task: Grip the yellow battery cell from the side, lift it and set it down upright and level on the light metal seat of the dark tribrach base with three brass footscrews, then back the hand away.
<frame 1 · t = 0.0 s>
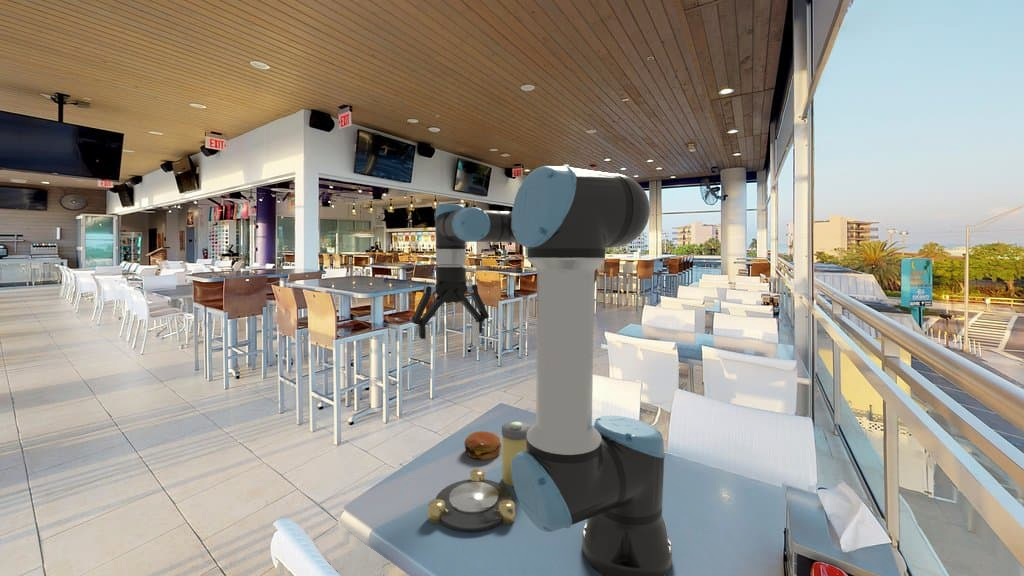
hand: (451, 348, 107), 28 cm above the table, tool pointing down, fingers open, 13 cm apart
burger: (483, 453, 110), on the table
yellow battery cell: (516, 479, 97), on the table
tribrach: (473, 506, 86), on the table
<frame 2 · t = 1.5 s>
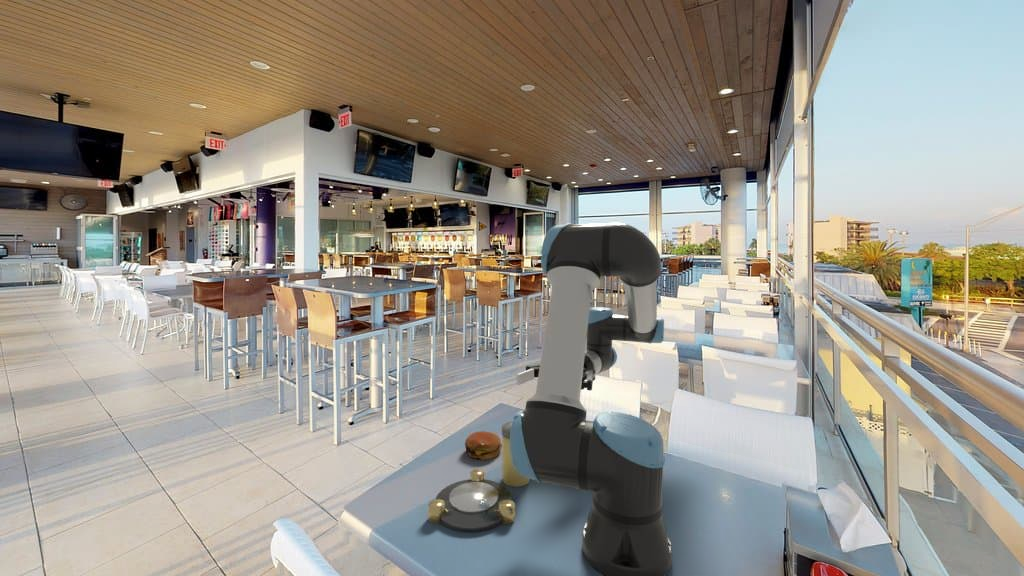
hand: (539, 385, 102), 20 cm above the table, tool horizontal, fingers open, 13 cm apart
nothing on the table moved.
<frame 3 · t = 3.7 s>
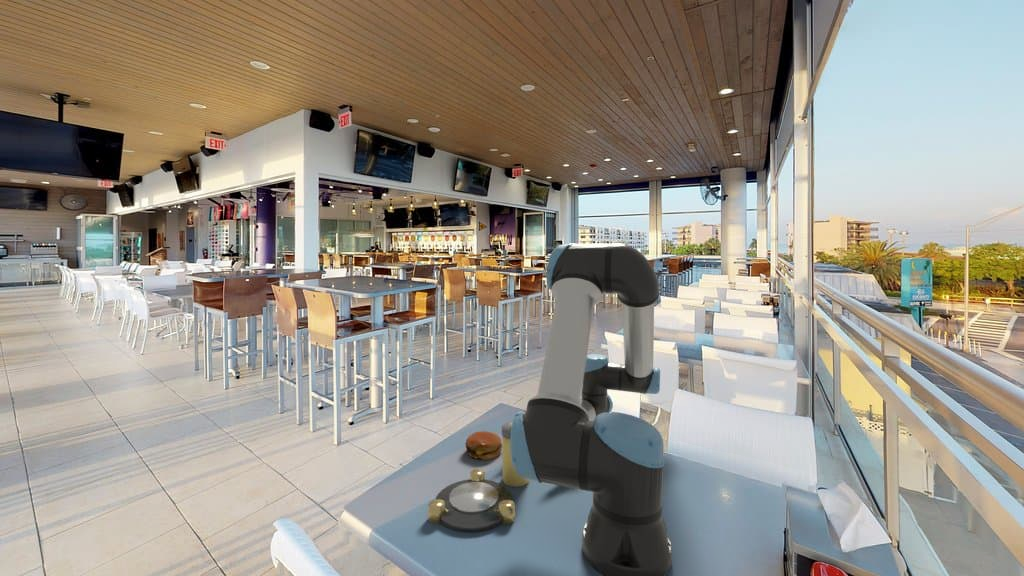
hand: (529, 442, 100), 7 cm above the table, tool horizontal, fingers open, 13 cm apart
nothing on the table moved.
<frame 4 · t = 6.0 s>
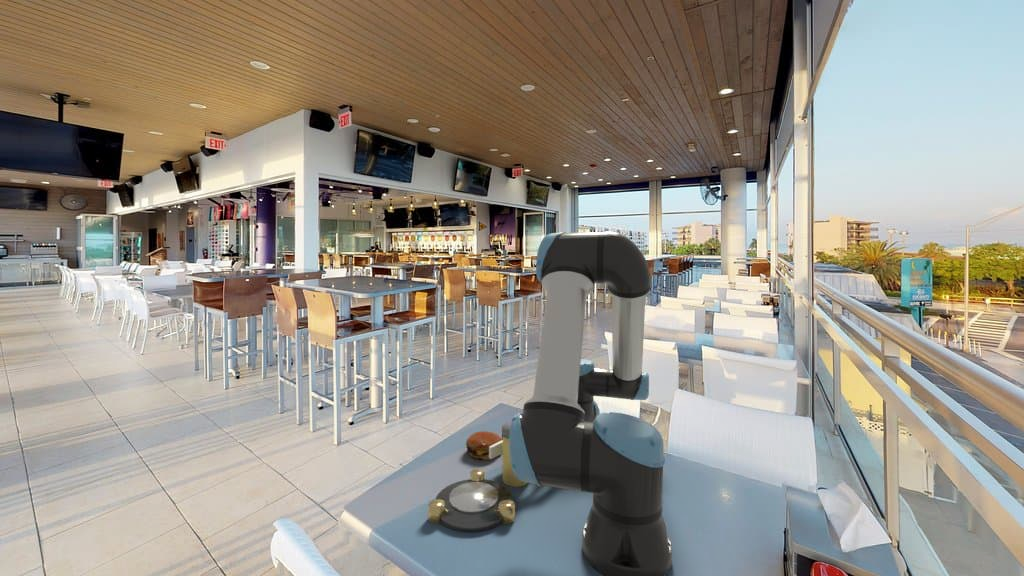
hand: (501, 457, 92), 7 cm above the table, tool horizontal, fingers closed on yellow battery cell, 6 cm apart
yellow battery cell: (516, 479, 97), on the table, touching gripper
everything else where it was.
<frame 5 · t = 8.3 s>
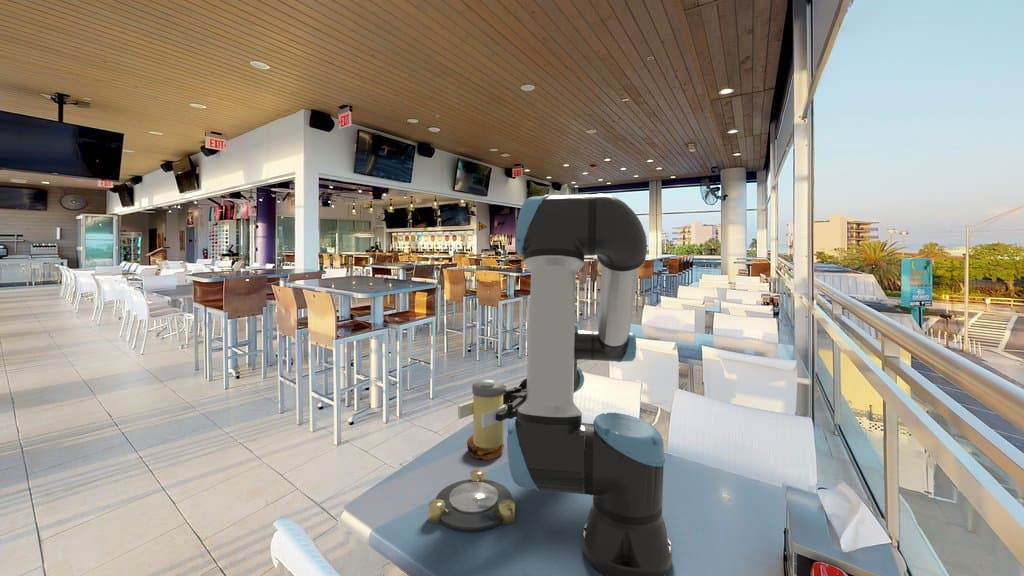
hand: (470, 416, 85), 19 cm above the table, tool horizontal, fingers closed on yellow battery cell, 6 cm apart
yellow battery cell: (488, 441, 89), point 12 cm above the table, touching gripper
everything else where it was.
when the fingers open (11 cm above the table, at t = 10.5 s): yellow battery cell drops 1 cm, resting on tribrach.
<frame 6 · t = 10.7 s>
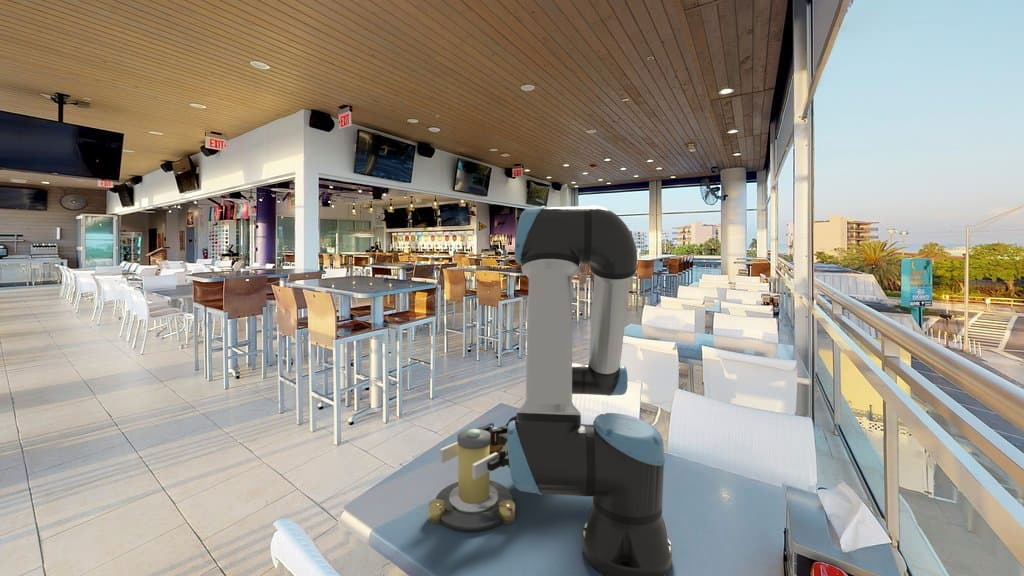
hand: (456, 463, 82), 11 cm above the table, tool horizontal, fingers open, 9 cm apart
yellow battery cell: (474, 494, 86), point 3 cm above the table, touching tribrach
everything else where it was.
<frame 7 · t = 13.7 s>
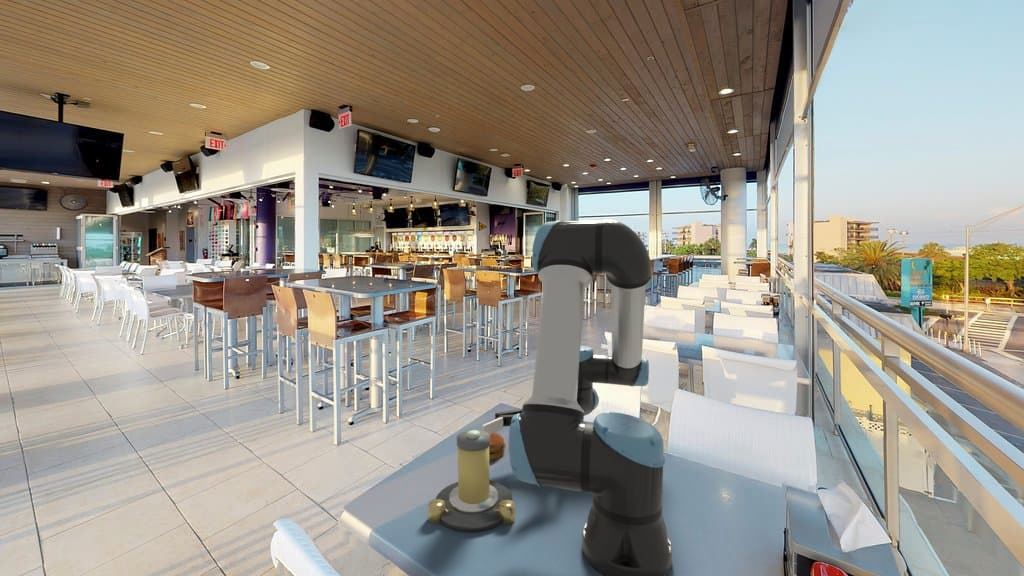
hand: (504, 439, 92), 11 cm above the table, tool horizontal, fingers open, 13 cm apart
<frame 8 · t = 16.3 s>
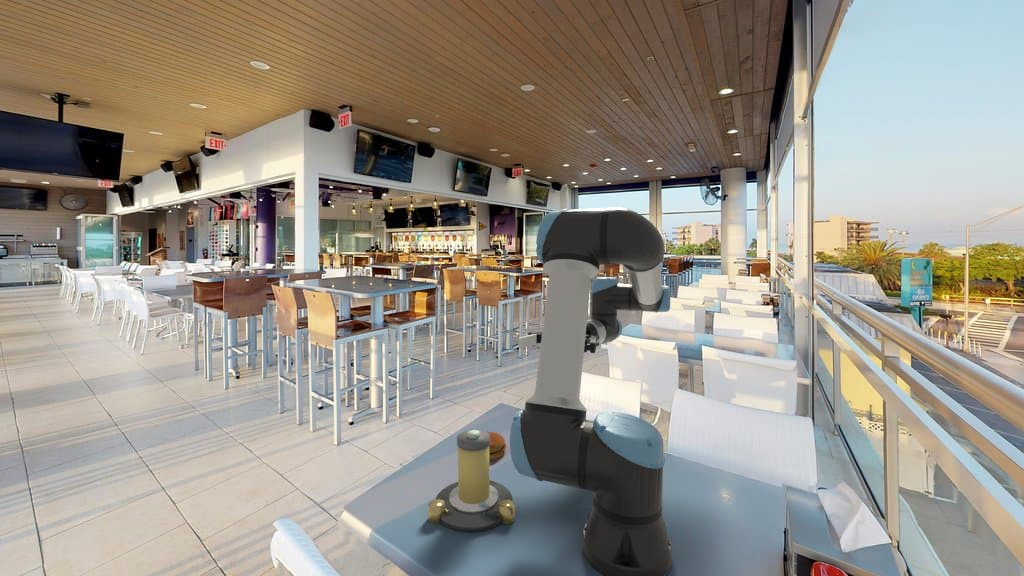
hand: (541, 347, 100), 30 cm above the table, tool horizontal, fingers open, 13 cm apart
at the end: yellow battery cell 0.1 cm off-centre on the tribrach, point 2.5 cm above the tribrach's base; yellow battery cell tilted 0°; the gripper is holding nothing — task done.
